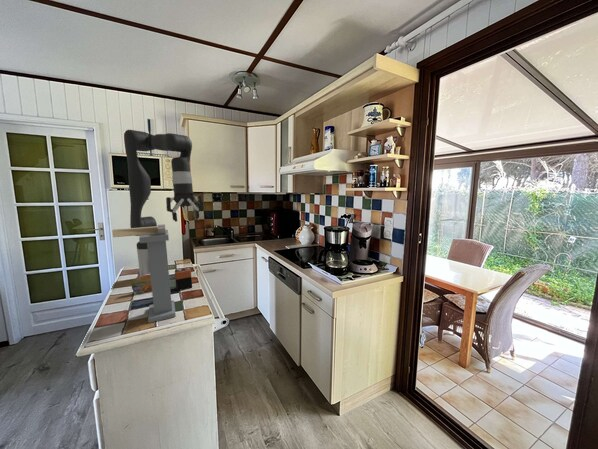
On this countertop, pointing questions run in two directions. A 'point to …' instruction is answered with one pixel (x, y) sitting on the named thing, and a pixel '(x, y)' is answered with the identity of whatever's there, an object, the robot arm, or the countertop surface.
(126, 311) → the countertop surface
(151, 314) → the shelf post
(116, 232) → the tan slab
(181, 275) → the battery
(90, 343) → the countertop surface
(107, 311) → the countertop surface
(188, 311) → the countertop surface
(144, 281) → the tin
